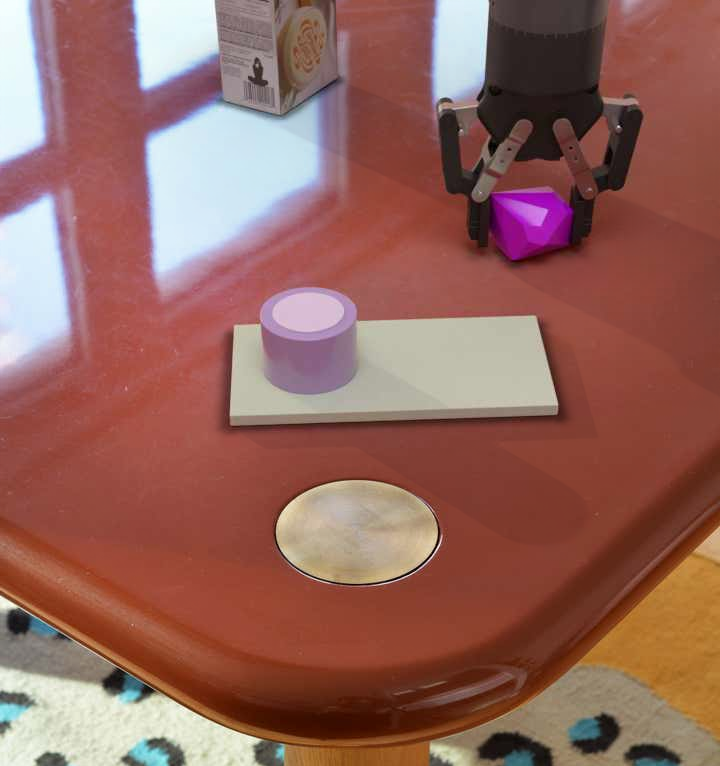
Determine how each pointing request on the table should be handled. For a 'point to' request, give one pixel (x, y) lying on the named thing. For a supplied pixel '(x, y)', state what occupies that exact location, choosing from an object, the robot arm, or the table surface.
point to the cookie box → (276, 51)
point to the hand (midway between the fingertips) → (527, 240)
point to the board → (409, 374)
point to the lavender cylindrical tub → (309, 340)
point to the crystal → (529, 221)
